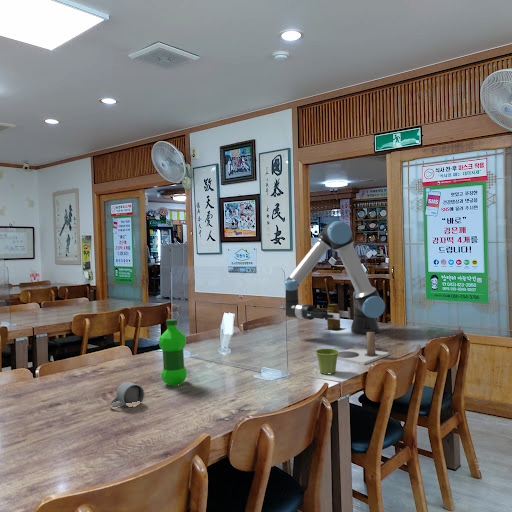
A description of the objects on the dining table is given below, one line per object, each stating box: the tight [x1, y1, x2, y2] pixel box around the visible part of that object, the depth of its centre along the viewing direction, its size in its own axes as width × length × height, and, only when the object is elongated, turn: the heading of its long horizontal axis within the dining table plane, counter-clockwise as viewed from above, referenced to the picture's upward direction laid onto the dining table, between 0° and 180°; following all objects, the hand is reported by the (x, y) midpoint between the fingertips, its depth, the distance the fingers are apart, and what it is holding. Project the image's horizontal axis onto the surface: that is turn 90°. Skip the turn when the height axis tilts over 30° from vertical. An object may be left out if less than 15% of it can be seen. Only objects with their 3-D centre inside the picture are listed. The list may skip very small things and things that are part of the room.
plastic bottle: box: [158, 318, 188, 386], centre depth 182 cm, size 10×10×25 cm
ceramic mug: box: [109, 381, 145, 407], centre depth 161 cm, size 11×8×8 cm
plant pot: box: [315, 348, 340, 375], centre depth 189 cm, size 9×9×9 cm
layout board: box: [337, 332, 390, 365], centre depth 211 cm, size 20×18×11 cm
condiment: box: [325, 303, 347, 332], centre depth 227 cm, size 7×8×12 cm
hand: (343, 315), depth 223 cm, fingers closed on condiment, 6 cm apart
